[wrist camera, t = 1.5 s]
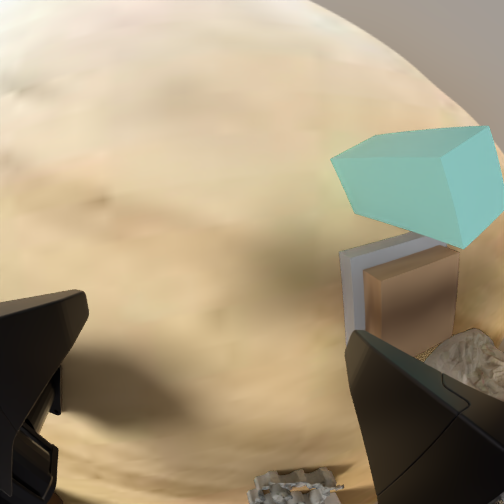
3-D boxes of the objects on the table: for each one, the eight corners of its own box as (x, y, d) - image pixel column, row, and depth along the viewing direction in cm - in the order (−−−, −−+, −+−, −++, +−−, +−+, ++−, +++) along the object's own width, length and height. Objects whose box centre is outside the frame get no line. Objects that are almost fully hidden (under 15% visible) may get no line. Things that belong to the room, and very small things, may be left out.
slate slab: (426, 318, 28) (441, 329, 25) (343, 353, 26) (355, 368, 24) (428, 224, 25) (446, 229, 22) (334, 249, 23) (350, 258, 21)
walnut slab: (435, 325, 25) (451, 336, 22) (365, 356, 24) (379, 372, 21) (439, 244, 22) (459, 252, 20) (362, 269, 22) (380, 281, 19)
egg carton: (337, 463, 31) (349, 485, 27) (312, 493, 32) (321, 514, 28) (259, 466, 28) (267, 494, 24) (239, 497, 30) (245, 521, 26)
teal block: (354, 213, 22) (463, 249, 12) (330, 159, 21) (440, 157, 10) (396, 186, 22) (507, 206, 12) (375, 135, 21) (488, 125, 11)
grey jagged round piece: (374, 437, 30) (443, 517, 16) (438, 318, 28) (546, 382, 14) (440, 423, 35) (499, 476, 21) (491, 329, 33) (566, 371, 19)
